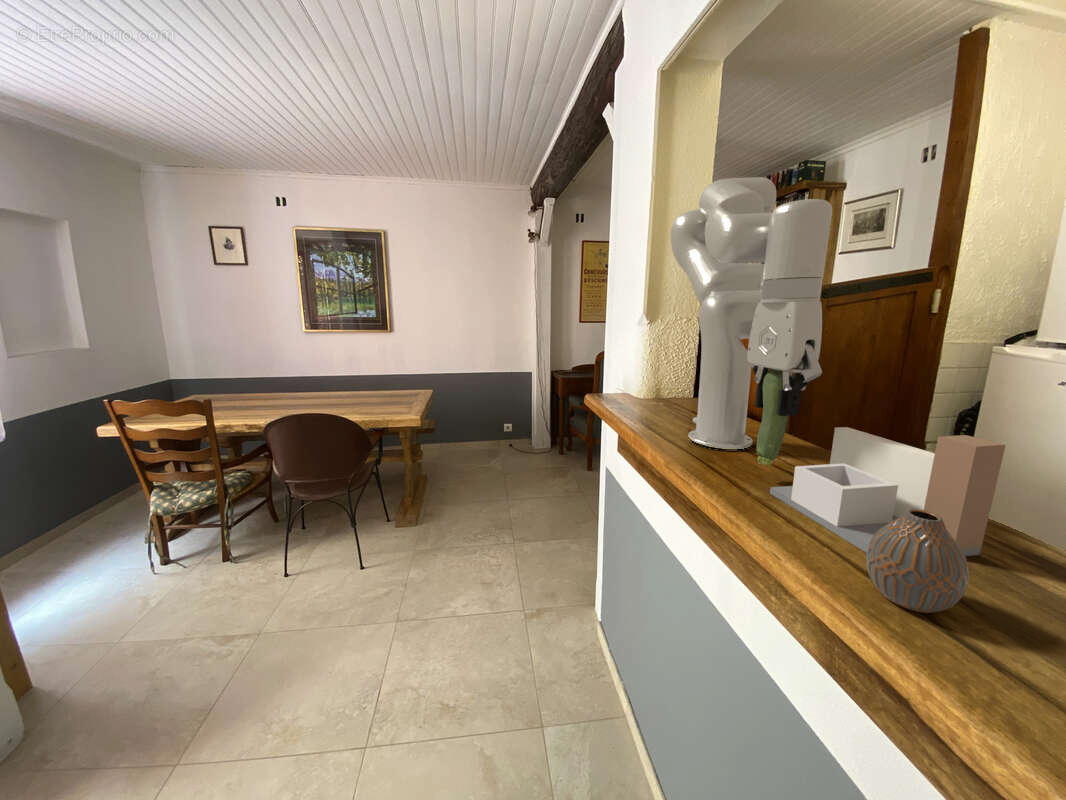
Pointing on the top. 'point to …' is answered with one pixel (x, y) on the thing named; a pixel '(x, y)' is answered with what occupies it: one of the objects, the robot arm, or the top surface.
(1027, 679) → the top surface
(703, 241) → the robot arm
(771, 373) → the vegetable
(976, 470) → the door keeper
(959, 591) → the vase
